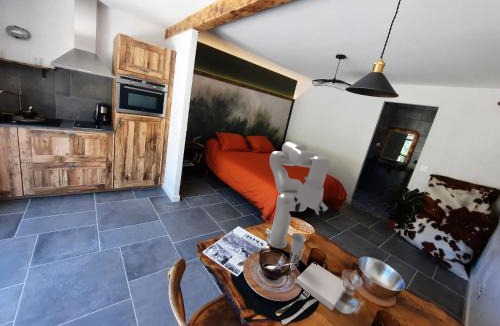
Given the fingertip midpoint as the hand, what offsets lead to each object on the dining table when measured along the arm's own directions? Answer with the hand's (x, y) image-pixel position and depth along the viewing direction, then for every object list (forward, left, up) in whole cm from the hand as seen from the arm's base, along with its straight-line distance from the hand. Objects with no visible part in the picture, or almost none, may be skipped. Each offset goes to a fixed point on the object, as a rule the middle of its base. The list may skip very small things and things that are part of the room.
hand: (305, 215), depth 104 cm
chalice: (0, 0, -30) cm, 30 cm away
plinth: (+16, +2, -30) cm, 34 cm away
